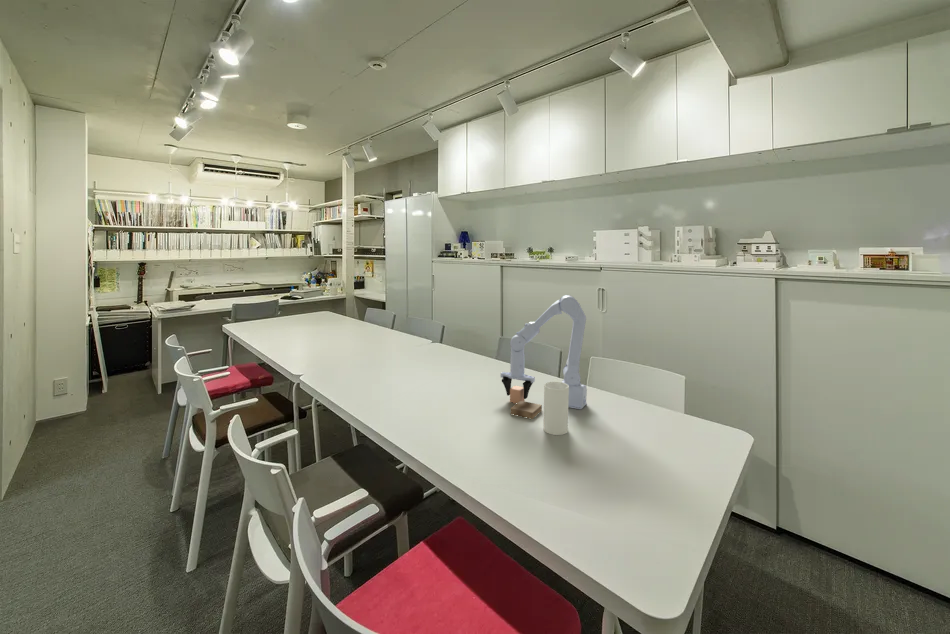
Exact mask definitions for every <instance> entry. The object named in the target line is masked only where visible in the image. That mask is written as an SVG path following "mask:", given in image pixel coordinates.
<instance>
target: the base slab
mask: <svg viewBox="0 0 950 634" xmlns="http://www.w3.org/2000/svg"><path fill="white" fill-rule="evenodd" d="M542 408H543V405H542V404H538V403H534V402H529V401H519V402H518V403H517V404H515V403H514V405H513V406H511V407H510V415H511V414H514V415H513V416H515V415H518V416H517V417H519V416H522V417H521V418H524V417H527V418H526V419H529V418H531V419H530V420H534V417H535V416H536V415H537V414H538V413H539V414H541V413H542V412H543V409H542ZM539 414H538V415H539ZM538 415H537V416H538ZM537 416H536V417H537ZM536 417H535V418H536Z"/></svg>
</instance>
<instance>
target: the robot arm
mask: <svg viewBox="0 0 950 634" xmlns="http://www.w3.org/2000/svg"><path fill="white" fill-rule="evenodd" d="M563 313H565V314H566V315H568V316H569V317H570V318H571V319H572V327H571V334H570V340H569V348H568V355H567V359H566V363H565V366H564V367H563V368H562V374H563V380H562V381H561V382H562V383H565V384H567V385H568V386H569V401H568V408H569V409H570V408H571V409H576V410H582V409H583V408H584V407H585V406H586V405H587V404H588V403H587V394H588V393H587V390H588V389H587V385H586V384H583V383H581V379H582V378H581V373H580V360H581V355H582V354H581V353H582V348H583V342H584V335H585V328H586V322H587V316H586V314H585V313H584V310H583V308H582V307H581V305H580V303H579V302H578V300H577V299H576V298H575V297H574V296H573V295H571V294H564V295H562V296H561V297H560V299H557V300H556V301H554V302H553V303H552V304H551V305H550V306H549V307H548V308H547V309H546V310H545V311H544V312H543V313H542V314H540V315H539V316H538V318H537V319H536V320H535V321H528V323H527V322H525V324H524V326H523V327H522V328H521V329H520V330H519V331H516V332H515V335H513V336H512V337H511V339H510V343H509V345H510V361H509V362H510V365H509V366H510V368H509V369H510V372H509V371H507V372H505V371H502V372H500V378H502V379H501V383H502V384H503V386H504V388H505V389H504V390H505V392H506V396H509V397H510V388H512V382H513V381H512V380H518V381H523V383H522V387H523V388H524V399H525V400H526V399H527V398H528V396H529V394H530V393H529V392H530V389H531V387H532V386H533V384H534V383H535V381H536V379H535V376H532V375H528V374H526V373H525V358H526V357H525V356H526V355H525V347H526V344H528V343H530V342H531V340H533V339H534V338H536V336H537V335H538V334H539V333H540V331H541V330H540V328H541V327H543V326H544V325H545V324H546V323H547V322H548V321H549V320H550V319H552V318H553V317H554V316H557V315H562V314H563Z"/></svg>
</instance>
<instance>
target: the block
mask: <svg viewBox="0 0 950 634" xmlns="http://www.w3.org/2000/svg"><path fill="white" fill-rule="evenodd" d="M525 400H526V399H524V388H523V386H520V385H519V386H518V385H514V386H511V388H510V395H509V403H510V402H513V403H512V404H515V403H518V402H519V401H525ZM525 402H526V401H525Z"/></svg>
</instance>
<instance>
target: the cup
mask: <svg viewBox="0 0 950 634" xmlns="http://www.w3.org/2000/svg"><path fill="white" fill-rule="evenodd" d="M543 387H544V389H543V431H544V432H545V433H547V434H549V435H553V436H562V435H565V434H567V433H568V430H569V427H568V426H569V407H568V401H569V386H568V385H567V384H565V383H562V381H550V382H545V383H544V384H543Z"/></svg>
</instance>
